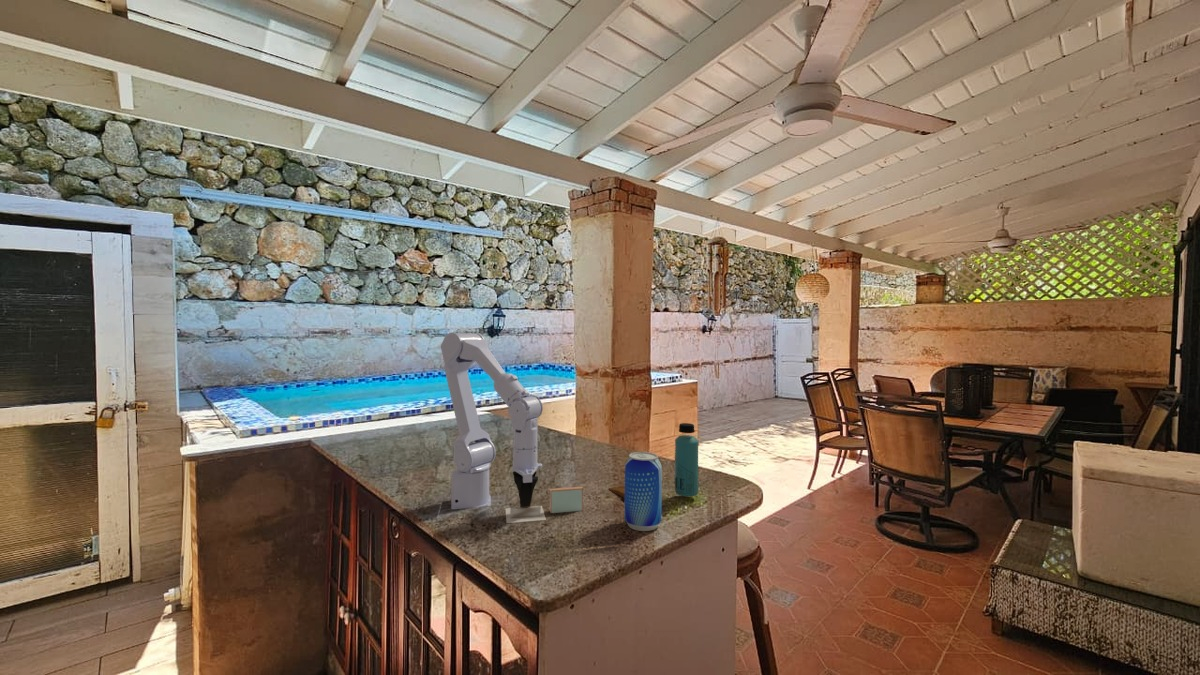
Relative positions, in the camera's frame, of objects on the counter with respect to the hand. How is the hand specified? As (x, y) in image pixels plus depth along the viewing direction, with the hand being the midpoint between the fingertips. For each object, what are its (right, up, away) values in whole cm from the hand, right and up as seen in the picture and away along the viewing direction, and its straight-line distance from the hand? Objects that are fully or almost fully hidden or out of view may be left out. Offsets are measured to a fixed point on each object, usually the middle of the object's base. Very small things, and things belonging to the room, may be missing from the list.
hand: (525, 503), depth 111 cm
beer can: (+28, -4, -5) cm, 28 cm away
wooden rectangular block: (0, -2, 0) cm, 2 cm away
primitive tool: (+26, -4, +12) cm, 29 cm away
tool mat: (0, -3, 0) cm, 3 cm away
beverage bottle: (+41, -3, +13) cm, 43 cm away
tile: (+10, -3, +2) cm, 10 cm away
